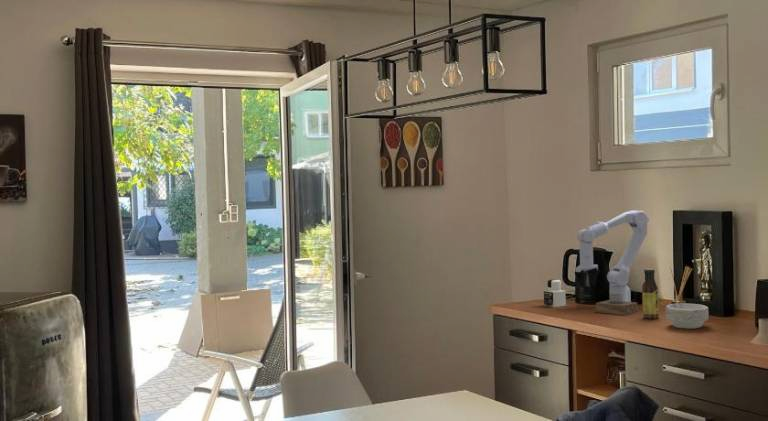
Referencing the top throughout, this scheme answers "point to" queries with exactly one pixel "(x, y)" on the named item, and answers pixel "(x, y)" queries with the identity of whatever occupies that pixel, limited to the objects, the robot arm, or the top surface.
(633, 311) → the brown wooden block
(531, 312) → the top surface
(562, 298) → the medicine bottle
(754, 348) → the top surface
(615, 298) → the rail bracket
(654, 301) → the sauce bottle
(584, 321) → the top surface
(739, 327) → the top surface
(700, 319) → the grey stone bowl
